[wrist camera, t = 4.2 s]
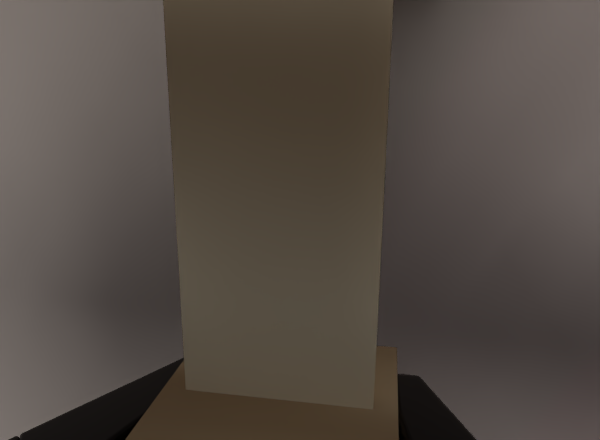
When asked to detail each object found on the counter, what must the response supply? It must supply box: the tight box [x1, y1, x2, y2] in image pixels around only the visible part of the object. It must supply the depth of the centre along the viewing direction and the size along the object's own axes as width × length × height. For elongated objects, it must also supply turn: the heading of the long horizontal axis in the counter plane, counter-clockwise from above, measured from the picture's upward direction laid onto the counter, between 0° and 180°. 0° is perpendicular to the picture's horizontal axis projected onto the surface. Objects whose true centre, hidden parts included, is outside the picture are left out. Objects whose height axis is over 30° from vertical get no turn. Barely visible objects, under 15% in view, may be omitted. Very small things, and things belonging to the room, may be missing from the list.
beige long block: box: [125, 0, 399, 440], centre depth 6 cm, size 11×3×3 cm, turn 0°
